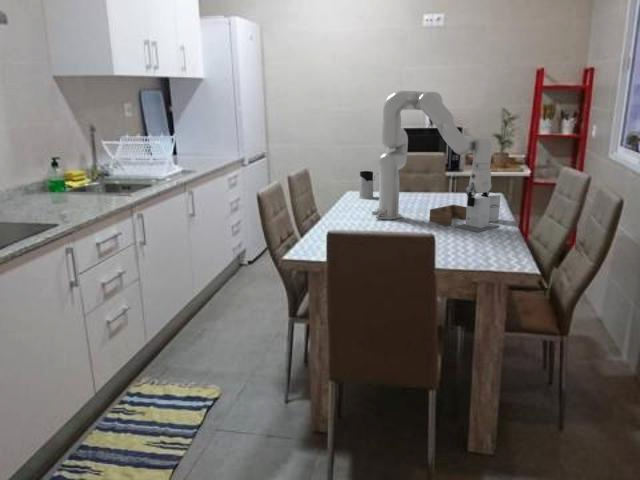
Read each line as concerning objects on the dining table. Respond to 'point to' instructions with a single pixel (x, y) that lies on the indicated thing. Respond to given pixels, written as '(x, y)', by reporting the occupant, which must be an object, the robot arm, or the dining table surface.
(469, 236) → the dining table surface
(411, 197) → the dining table surface
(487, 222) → the small box
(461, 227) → the mat
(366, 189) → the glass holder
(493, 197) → the supplement box
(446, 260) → the dining table surface
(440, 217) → the cubby
